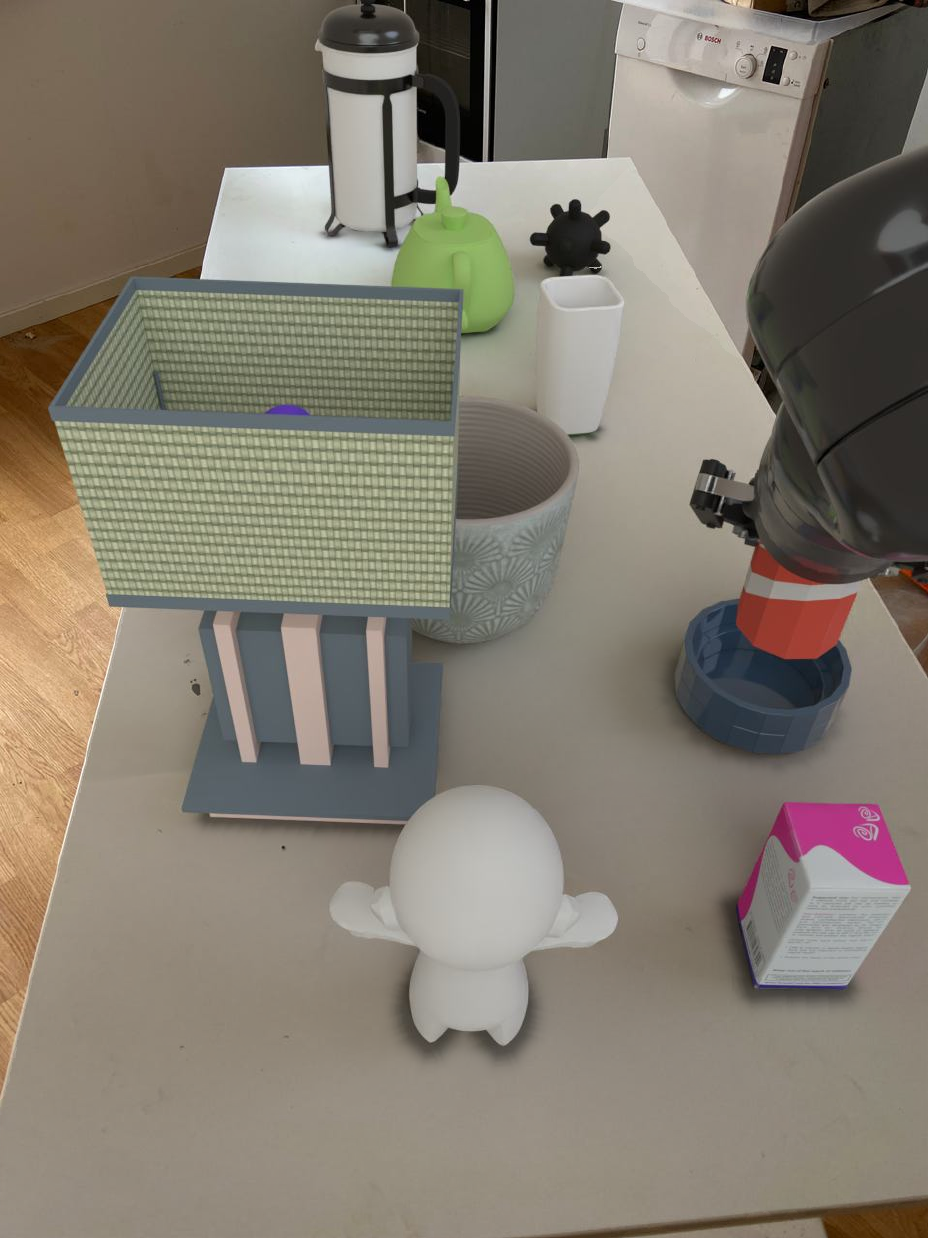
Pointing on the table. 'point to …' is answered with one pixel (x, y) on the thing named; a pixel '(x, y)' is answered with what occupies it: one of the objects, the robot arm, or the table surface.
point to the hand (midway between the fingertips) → (812, 544)
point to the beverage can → (791, 610)
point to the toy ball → (573, 239)
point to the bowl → (756, 687)
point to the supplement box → (819, 895)
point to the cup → (576, 349)
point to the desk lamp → (282, 522)
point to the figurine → (474, 908)
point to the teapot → (458, 261)
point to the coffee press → (378, 119)
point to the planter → (505, 518)
